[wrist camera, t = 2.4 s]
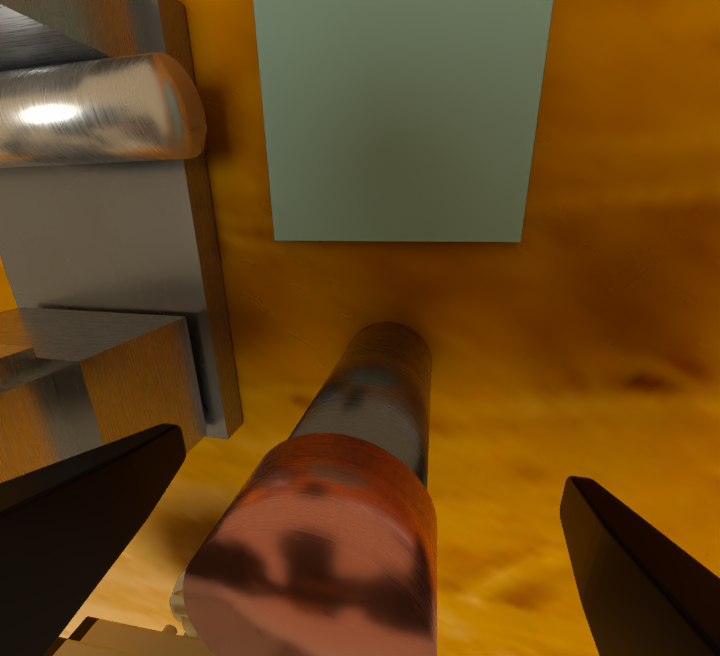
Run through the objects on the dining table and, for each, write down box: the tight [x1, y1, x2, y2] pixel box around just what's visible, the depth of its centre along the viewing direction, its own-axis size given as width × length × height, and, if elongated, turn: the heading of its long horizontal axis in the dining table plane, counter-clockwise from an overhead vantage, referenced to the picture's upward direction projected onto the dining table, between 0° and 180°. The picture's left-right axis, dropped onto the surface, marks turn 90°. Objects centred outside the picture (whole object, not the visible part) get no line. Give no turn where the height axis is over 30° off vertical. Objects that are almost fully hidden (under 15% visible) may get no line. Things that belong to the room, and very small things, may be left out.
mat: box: [253, 0, 553, 242], centre depth 10 cm, size 8×8×1 cm
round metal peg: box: [183, 322, 437, 656], centre depth 9 cm, size 4×4×9 cm
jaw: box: [0, 307, 207, 483], centre depth 11 cm, size 6×8×6 cm
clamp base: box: [0, 0, 243, 439], centre depth 11 cm, size 15×11×5 cm
